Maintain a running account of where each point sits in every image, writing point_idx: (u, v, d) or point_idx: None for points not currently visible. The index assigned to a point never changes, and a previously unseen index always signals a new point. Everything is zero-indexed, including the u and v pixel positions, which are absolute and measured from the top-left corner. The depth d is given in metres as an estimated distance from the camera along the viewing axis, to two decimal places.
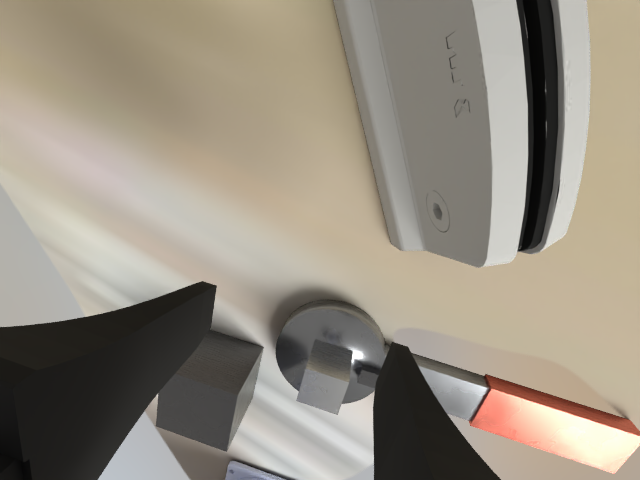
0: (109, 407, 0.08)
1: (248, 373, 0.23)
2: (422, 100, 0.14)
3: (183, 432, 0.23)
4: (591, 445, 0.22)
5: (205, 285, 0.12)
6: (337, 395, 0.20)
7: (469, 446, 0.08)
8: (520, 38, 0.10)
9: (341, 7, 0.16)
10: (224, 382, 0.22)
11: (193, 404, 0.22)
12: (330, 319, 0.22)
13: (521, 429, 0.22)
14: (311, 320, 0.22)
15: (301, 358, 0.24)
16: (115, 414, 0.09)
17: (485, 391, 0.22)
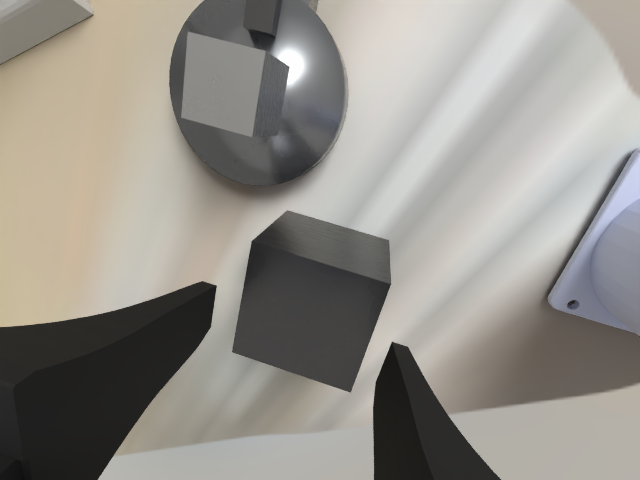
0: (109, 407, 0.08)
1: None
2: None
3: (356, 351, 0.13)
4: None
5: (204, 285, 0.12)
6: (220, 53, 0.11)
7: (469, 446, 0.08)
8: None
9: None
10: None
11: (288, 318, 0.14)
12: (181, 93, 0.15)
13: None
14: (190, 124, 0.15)
15: (259, 143, 0.15)
16: (115, 414, 0.09)
17: None
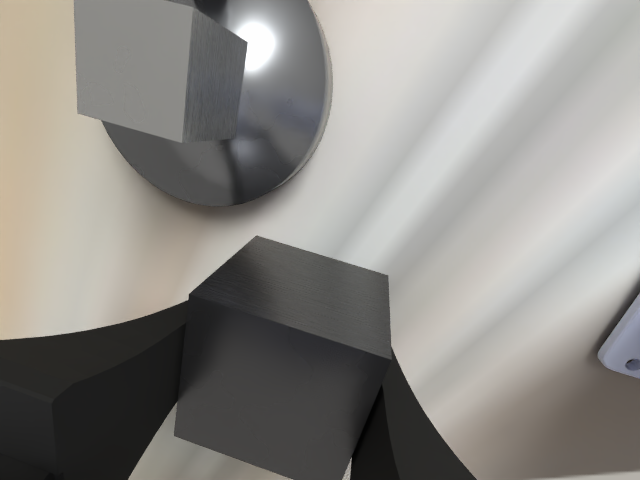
0: (135, 416, 0.08)
1: None
2: None
3: (342, 445, 0.09)
4: None
5: None
6: (125, 13, 0.07)
7: (438, 436, 0.08)
8: None
9: None
10: None
11: (247, 398, 0.10)
12: None
13: None
14: (118, 124, 0.11)
15: (211, 149, 0.11)
16: (140, 423, 0.08)
17: None
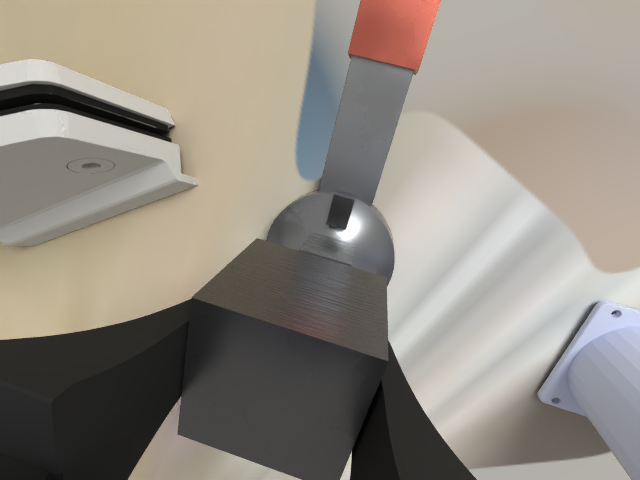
0: (135, 416, 0.08)
1: (225, 269, 0.11)
2: (15, 192, 0.18)
3: (341, 443, 0.10)
4: None
5: None
6: None
7: (438, 436, 0.08)
8: None
9: (38, 237, 0.24)
10: None
11: (248, 398, 0.10)
12: None
13: None
14: None
15: None
16: (140, 423, 0.08)
17: (357, 59, 0.16)
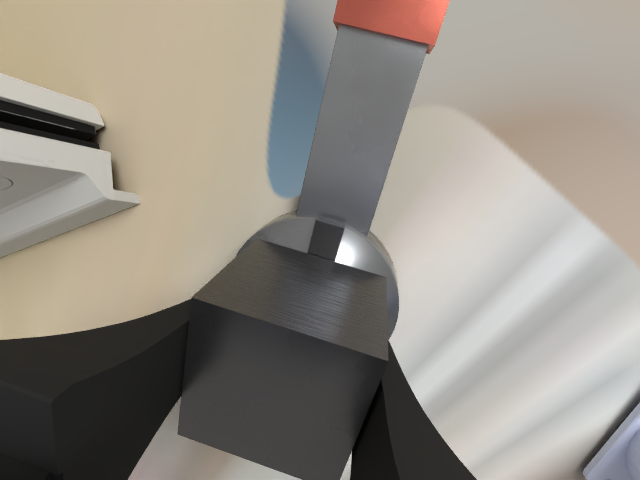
0: (135, 416, 0.08)
1: (225, 269, 0.11)
2: None
3: (341, 443, 0.10)
4: None
5: None
6: None
7: (438, 435, 0.08)
8: None
9: None
10: None
11: (248, 398, 0.10)
12: None
13: None
14: None
15: None
16: (140, 423, 0.08)
17: (347, 30, 0.11)
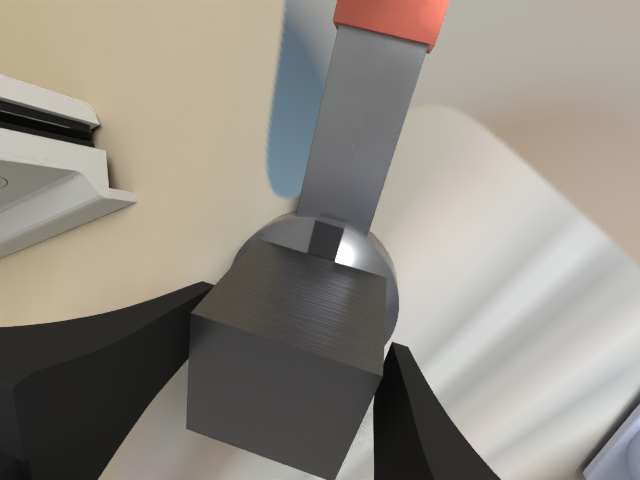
0: (109, 407, 0.08)
1: (225, 277, 0.11)
2: None
3: (338, 443, 0.10)
4: None
5: (205, 285, 0.12)
6: None
7: (469, 446, 0.08)
8: None
9: None
10: None
11: (250, 402, 0.10)
12: None
13: None
14: None
15: None
16: (115, 414, 0.09)
17: (347, 30, 0.11)
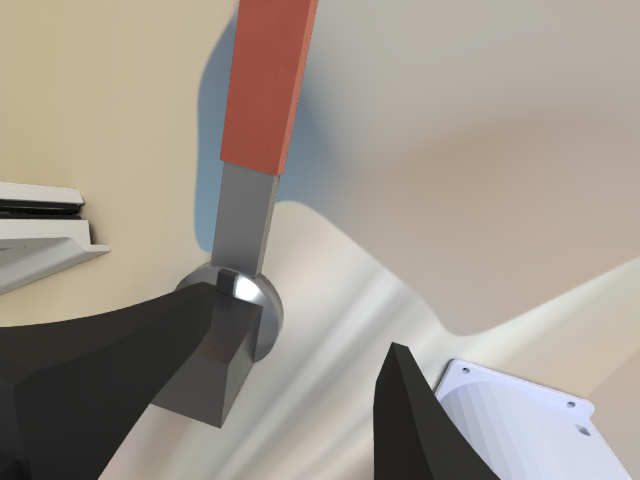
0: (109, 407, 0.08)
1: None
2: None
3: (217, 404, 0.18)
4: (273, 21, 0.16)
5: (205, 285, 0.12)
6: None
7: (469, 446, 0.08)
8: None
9: None
10: None
11: None
12: None
13: (268, 115, 0.18)
14: None
15: None
16: (115, 414, 0.09)
17: (229, 164, 0.19)
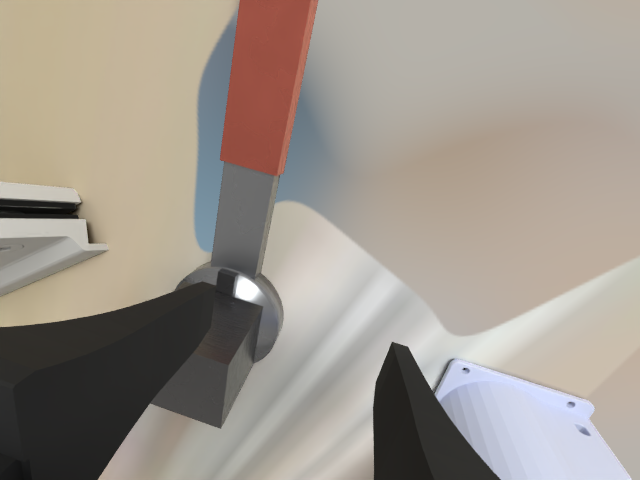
0: (109, 407, 0.08)
1: None
2: None
3: (217, 404, 0.18)
4: (273, 21, 0.16)
5: (204, 285, 0.12)
6: None
7: (469, 446, 0.08)
8: None
9: None
10: None
11: None
12: None
13: (268, 115, 0.18)
14: None
15: None
16: (115, 414, 0.09)
17: (229, 164, 0.19)
